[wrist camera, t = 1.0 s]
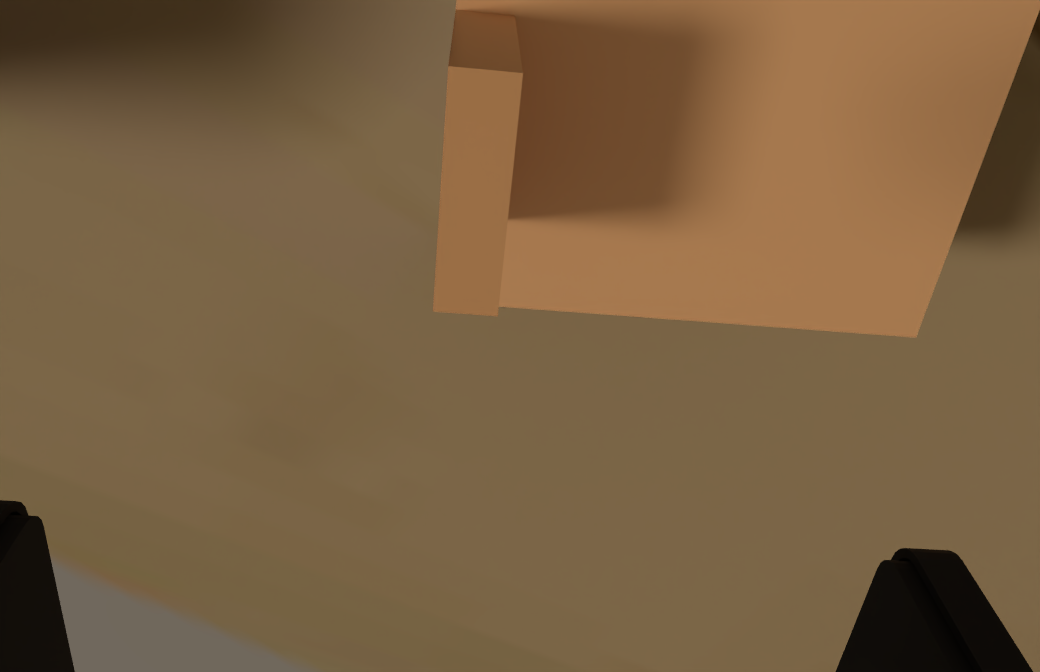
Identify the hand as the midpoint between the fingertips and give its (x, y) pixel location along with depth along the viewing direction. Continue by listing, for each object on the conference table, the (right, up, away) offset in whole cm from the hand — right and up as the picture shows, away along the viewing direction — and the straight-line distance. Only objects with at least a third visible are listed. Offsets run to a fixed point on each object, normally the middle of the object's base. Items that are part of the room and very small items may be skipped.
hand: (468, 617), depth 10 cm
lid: (+6, +10, +18) cm, 22 cm away
